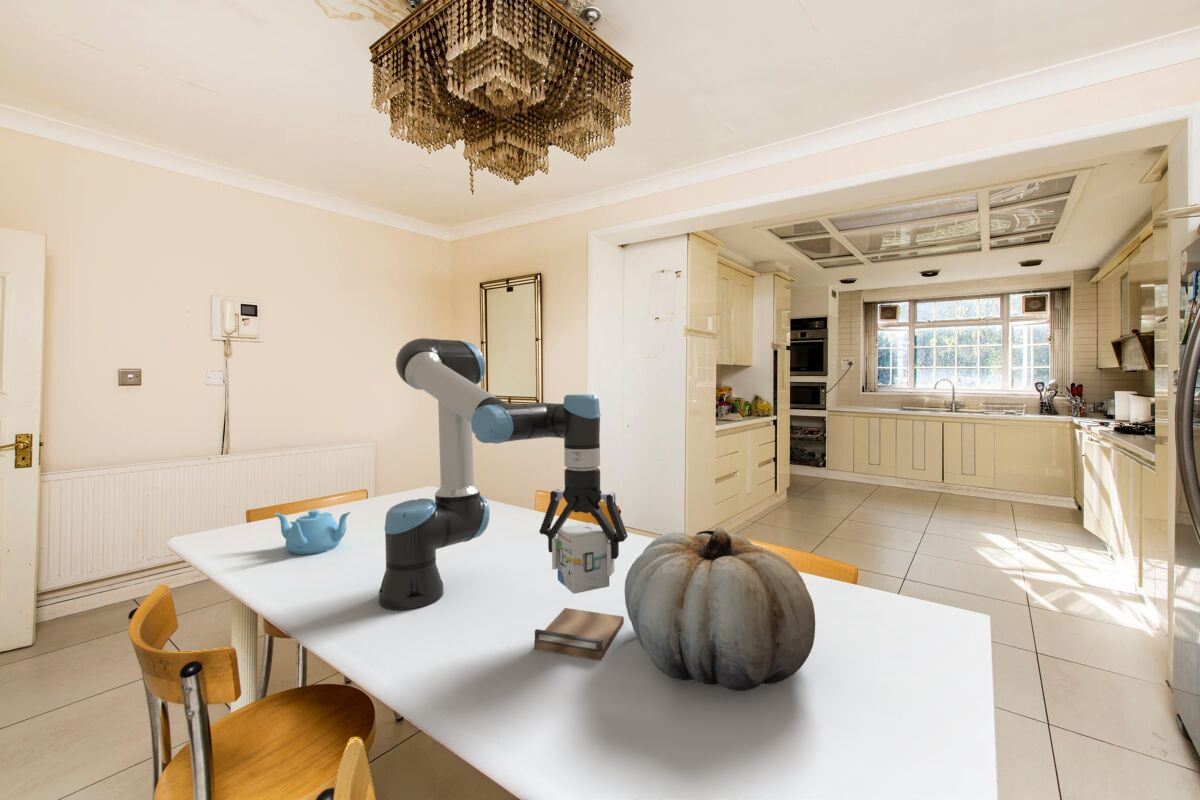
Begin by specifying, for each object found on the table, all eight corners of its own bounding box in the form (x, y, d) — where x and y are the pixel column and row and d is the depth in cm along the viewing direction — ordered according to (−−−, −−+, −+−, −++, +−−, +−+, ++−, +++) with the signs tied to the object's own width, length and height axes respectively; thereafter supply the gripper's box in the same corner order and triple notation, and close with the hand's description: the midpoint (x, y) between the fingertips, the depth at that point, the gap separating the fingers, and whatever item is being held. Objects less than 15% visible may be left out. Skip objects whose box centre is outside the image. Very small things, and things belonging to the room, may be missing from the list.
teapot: (292, 561, 152) (291, 521, 151) (274, 548, 164) (273, 510, 164) (351, 548, 164) (351, 510, 164) (331, 536, 177) (330, 501, 177)
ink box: (556, 580, 109) (556, 526, 108) (592, 573, 113) (591, 521, 112) (573, 594, 101) (572, 536, 101) (610, 586, 105) (610, 530, 105)
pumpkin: (586, 636, 106) (585, 517, 105) (716, 600, 124) (716, 498, 123) (704, 745, 74) (705, 575, 73) (857, 675, 91) (859, 538, 91)
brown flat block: (534, 648, 101) (534, 631, 101) (565, 614, 116) (565, 599, 116) (600, 660, 96) (600, 642, 96) (623, 623, 112) (623, 607, 111)
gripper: (523, 467, 106) (524, 570, 107) (632, 473, 99) (633, 583, 99) (538, 462, 114) (539, 558, 114) (641, 467, 106) (642, 570, 107)
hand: (583, 570), depth 107 cm, fingers closed on ink box, 11 cm apart
